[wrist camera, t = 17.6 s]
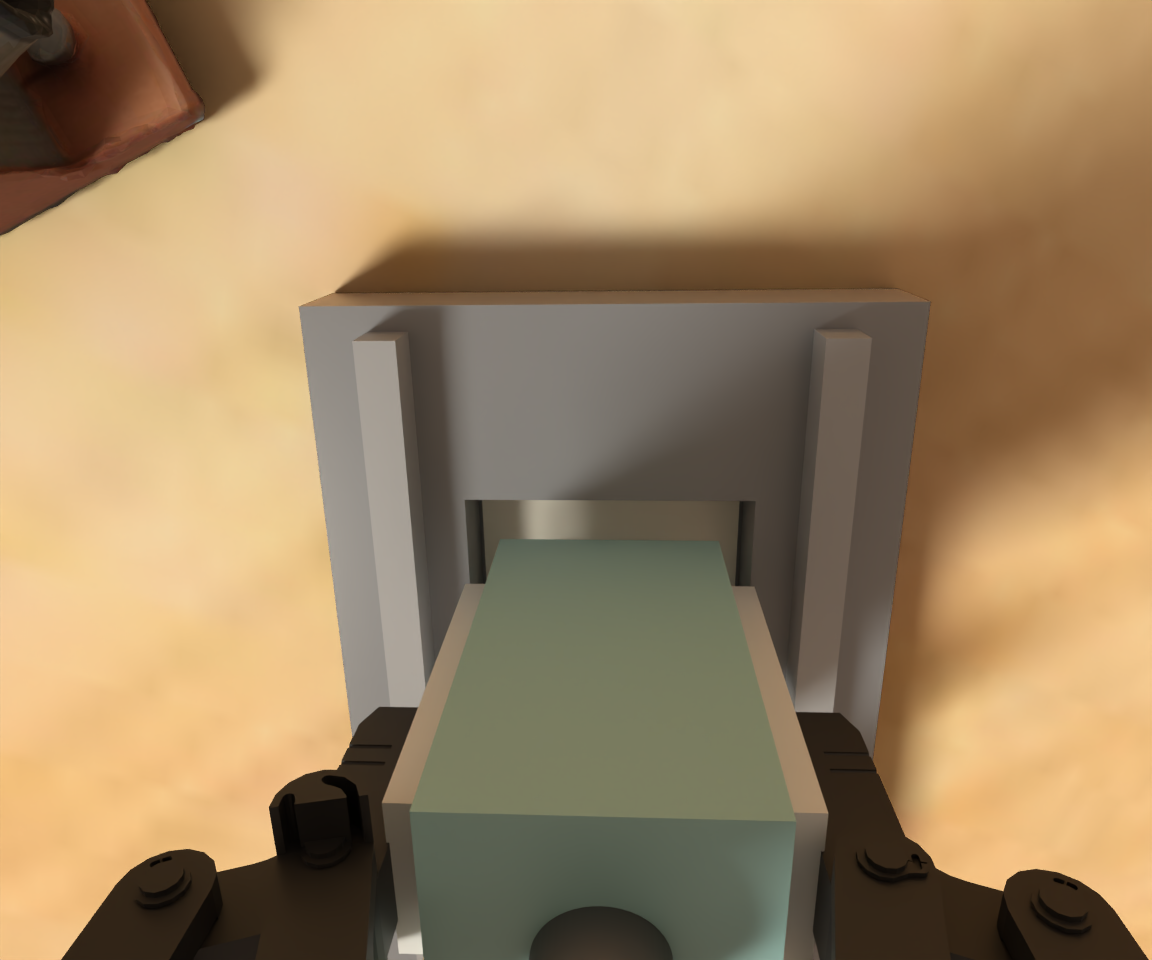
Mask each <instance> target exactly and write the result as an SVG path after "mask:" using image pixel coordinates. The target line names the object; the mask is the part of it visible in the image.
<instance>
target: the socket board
mask: <svg viewBox="0 0 1152 960" xmlns="http://www.w3.org/2000/svg"><path fill="white" fill-rule="evenodd" d="M930 303H931V302H930V301H928V300H925V299H923V298H920V297H918V296H915V295H913V294H910V293H907V292H905V291H902V290H900V289H780V290H662V291H544V292H426V293H332V294H329V295H327V296H324V297H322V298H319V299H317V300H314V301H311V302H309V303H306V304H304V305H301V306H299V311H300V319H301V327H302V335H303V343H304V351H305V359H306V367H307V375H308V383H309V391H310V399H311V407H312V416H313V424H314V432H315V440H316V448H317V456H318V464H319V472H320V480H321V488H322V496H323V504H324V512H325V520H326V528H327V536H328V544H329V552H330V560H331V568H332V576H333V585H334V593H335V601H336V609H337V617H338V625H339V633H340V641H341V649H342V657H343V665H344V673H345V681H346V689H347V697H348V705H349V713H350V721H351V729H352V737H353V736H354V734H355V732H356V730H357V728H358V725H359V724H360V723H361V722H362V721H363V720H364V719H366V718H367V717H368V716H369V715H370V714H371V713H372V712H373V711H375V710H376V709H377V708H378V707H419V704H420V701H421V699H422V696H423V694H424V691H425V688H426V686H427V683H428V680H429V678H430V675H431V673H432V670H433V667H434V665H435V662H436V659H437V657H438V654H439V652H440V649H441V646H442V644H443V641H444V638H445V636H446V633H447V631H448V628H449V625H450V623H451V620H452V618H453V615H454V612H455V610H456V607H457V604H458V602H459V599H460V597H461V594H462V591H463V589H464V586H465V584H485V583H486V580H487V577H488V574H489V571H490V568H491V565H492V562H493V559H494V556H495V553H496V550H497V547H498V544H499V541H500V539H563V540H675V541H719V544H720V547H721V551H722V554H723V558H724V562H725V565H726V569H727V572H728V576H729V580H730V583H731V586H749V587H755V590H756V593H757V596H758V599H759V602H760V605H761V608H762V611H763V614H764V618H765V621H766V624H767V627H768V630H769V633H770V636H771V639H772V642H773V645H774V648H775V651H776V654H777V657H778V660H779V663H780V667H781V670H782V673H783V676H784V679H785V682H786V685H787V688H788V691H789V694H790V697H791V700H792V703H793V706H794V709H795V712H830V713H841V714H842V715H843V716H844V717H845V718H846V719H847V720H848V721H849V722H850V723H851V724H852V725H854V726H855V727H856V728H857V729H858V730H859V731H860V733H861V735H862V737H863V740H864V742H865V744H866V747H867V749H868V751H869V757H871V758H872V761H873V754H874V746H875V738H876V730H877V722H878V714H879V707H880V699H881V691H882V683H883V675H884V667H885V659H886V651H887V643H888V635H889V627H890V619H891V612H892V604H893V596H894V588H895V580H896V572H897V564H898V556H899V548H900V540H901V532H902V524H903V517H904V509H905V501H906V493H907V485H908V477H909V469H910V461H911V453H912V445H913V437H914V429H915V422H916V414H917V406H918V398H919V390H920V382H921V374H922V366H923V358H924V350H925V342H926V334H927V326H928V319H929V311H930ZM388 960H423V954H399V950H398V941H397V932H396V929H395V933H394V936H393V939H392V943H391V946H390V949H389V953H388ZM813 960H820V958H819V954H818V950H817V946H816V942H815V943H814V952H813Z"/></svg>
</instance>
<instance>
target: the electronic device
mask: <svg viewBox="0 0 1152 960" xmlns="http://www.w3.org/2000/svg"><path fill="white" fill-rule="evenodd" d="M204 113H205V107H204V103H203V100H202V99H201V97H200V96H199V95H198V94H197V93H196V92H195V91H193V89H192V88H191V86H190V84H189V82H188V80H187V78H186V76H185V74H184V73H183V71H182V69H181V67H180V65H179V63H178V61H177V59H176V57H175V55H174V53H173V51H172V49H171V47H170V46H169V44H168V42H167V40H166V38H165V36H164V35H163V33H162V31H161V29H160V26H159V24H158V21H157V19H156V17H155V15H154V14H153V12H152V10H151V9H150V7H149V5H148V4H147V2H146V0H0V235H2V234H5V233H8V232H10V231H11V230H13V229H15V228H16V227H18V226H20V225H21V224H23V223H25V222H26V221H28V220H30V219H31V218H33V217H35V216H36V215H38V214H40V213H42V212H44V211H46V210H48V209H50V208H53V207H56V206H58V205H60V204H61V203H62V202H64V201H65V200H66V199H67V198H68V197H69V196H71V195H72V194H74V193H75V192H76V191H78V190H80V189H82V188H83V187H85V186H87V185H89V184H91V183H92V182H94V181H96V180H98V179H100V178H101V177H103V176H105V175H110V174H115V173H118V172H119V171H120V170H121V169H122V168H123V167H124V166H125V165H126V164H127V163H128V162H130V161H132V160H134V159H136V158H138V157H140V156H142V155H144V154H146V153H148V152H149V151H150V150H151V149H152V148H153V147H155V146H157V145H159V144H160V143H162V142H169V141H171V140H173V139H174V138H175V137H176V136H179V135H181V134H182V133H183V132H186V131H188V130H191V129H193V128H194V127H195V125H196V122H199V121H201V120H203V119H204Z"/></svg>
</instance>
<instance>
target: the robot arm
mask: <svg viewBox="0 0 1152 960" xmlns="http://www.w3.org/2000/svg"><path fill="white" fill-rule="evenodd" d="M484 586H485V584H465V586H464V589H463V591H462V594H461V597H460V599H459V602H458V604H457V607H456V610H455V612H454V615H453V618H452V620H451V623H450V625H449V628H448V631H447V633H446V636H445V638H444V641H443V644H442V646H441V649H440V652H439V654H438V657H437V659H436V662H435V665H434V667H433V670H432V673H431V675H430V678H429V680H428V683H427V686H426V688H425V691H424V694H423V696H422V699H421V701H420V704H419V707H378V708H377V709H376V710H375V711H373V712H372V713H371V714H370V715H369V716H368V717H367V718H366V719H364V720H363V721H362V722H361V723H360V724H359V725H358V728H357V730H356V732H355V734H354V736H353V738H352V740H351V742H350V744H349V745H350V746H349V748H347V751H346V753H345V755H344V757H343V759H342V764H341V765H339V767H338V769H337V770H321V771H317V772H313V773H309V774H305V775H303V776H301V777H299V778H297V779H295V780H293V781H291V782H289V783H288V784H287V785H286V786H285V787H283V788H282V789H281V790H280V791H279V792H278V793H277V794H276V795H275V797H274V799H273V801H272V803H271V804H270V806H269V811H270V817H271V823H272V829H273V835H274V841H275V846H276V852H277V856H275V857H272V858H270V859H268V860H265V861H262V862H259V863H255V864H252V865H247V866H243V867H238V868H234V869H229V870H225V871H221V872H216V867H215V863H214V860H213V859H211V858H210V857H209V856H208V855H207V854H205V853H204V852H200V851H195V850H191V849H184V850H175V851H168V852H165V853H162V854H160V855H157V856H154V857H151V858H149V859H147V860H146V861H144V862H142V863H141V864H139V865H137V866H136V867H134V868H133V869H131V870H130V871H129V872H128V873H127V874H126V875H125V876H124V877H123V878H122V879H121V880H120V881H119V882H118V883H117V884H116V885H115V887H114V888H113V890H112V891H111V892H110V894H109V895H108V896H107V898H106V899H105V901H104V902H103V903H102V905H101V906H100V907H99V909H98V910H97V911H96V913H95V914H94V916H93V917H92V918H91V920H90V921H89V922H88V924H87V925H86V927H85V928H84V929H83V931H82V932H81V933H80V935H79V936H78V937H77V939H76V940H75V942H74V943H73V944H72V946H71V947H70V948H69V950H68V951H67V952H66V954H65V955H64V957H63V958H62V959H61V960H388V953H389V949H390V946H391V943H392V939H393V936H394V933H395V929H396V932H397V941H398V950H399V954H423V948H422V937H421V927H420V916H419V906H418V896H417V885H416V875H415V865H414V854H413V844H412V834H411V823H410V813H409V811H410V808H411V805H412V802H413V799H414V796H415V793H416V790H417V787H418V784H419V781H420V778H421V775H422V772H423V769H424V766H425V763H426V760H427V757H428V754H429V751H430V748H431V745H432V742H433V739H434V736H435V733H436V730H437V727H438V724H439V721H440V718H441V715H442V712H443V709H444V706H445V703H446V700H447V697H448V694H449V691H450V688H451V685H452V682H453V679H454V676H455V673H456V670H457V667H458V664H459V661H460V658H461V655H462V652H463V649H464V646H465V643H466V640H467V637H468V634H469V631H470V628H471V625H472V622H473V619H474V616H475V613H476V610H477V607H478V604H479V601H480V598H481V595H482V592H483V589H484ZM731 587H732V591H733V594H734V598H735V601H736V605H737V609H738V612H739V616H740V619H741V623H742V627H743V630H744V634H745V638H746V641H747V645H748V648H749V652H750V656H751V659H752V663H753V666H754V670H755V674H756V677H757V681H758V685H759V688H760V692H761V695H762V699H763V703H764V706H765V710H766V713H767V717H768V721H769V724H770V728H771V732H772V735H773V739H774V742H775V746H776V750H777V753H778V757H779V760H780V764H781V768H782V771H783V775H784V779H785V782H786V786H787V789H788V793H789V797H790V800H791V804H792V807H793V811H794V815H795V818H796V831H795V842H794V852H793V863H792V873H791V884H790V894H789V905H788V915H787V926H786V936H785V947H784V958H783V960H813V952H814V943H815V942H816V946H817V950H818V954H819V958H820V960H1148V958H1147V957H1146V955H1145V954H1144V952H1143V951H1142V950H1141V948H1140V947H1139V945H1138V944H1137V942H1136V941H1135V939H1134V938H1133V937H1132V935H1131V934H1130V932H1129V931H1128V929H1127V928H1126V926H1125V925H1124V924H1123V922H1122V921H1121V919H1120V918H1119V916H1118V915H1117V913H1116V912H1115V910H1114V909H1113V908H1112V907H1111V906H1110V905H1109V904H1108V903H1107V902H1106V901H1105V900H1104V899H1103V898H1102V897H1101V896H1100V894H1098V893H1097V892H1095V891H1094V890H1092V889H1091V888H1089V887H1088V886H1086V885H1085V884H1083V883H1081V882H1080V881H1078V880H1075V879H1073V878H1070V877H1068V876H1065V875H1063V874H1060V873H1058V872H1052V871H1045V870H1039V869H1033V870H1026V871H1020V872H1017V873H1016V874H1015V875H1013V876H1012V877H1010V878H1009V879H1007V881H1006V885H1005V888H1004V891H1000V890H996V889H992V888H989V887H985V886H981V885H978V884H974V883H970V882H967V881H964V880H961V879H958V878H955V877H952V876H950V875H948V874H946V873H944V872H942V871H940V870H938V869H936V868H935V866H934V863H933V861H932V859H931V857H930V856H929V855H928V854H927V853H926V852H925V851H924V850H923V849H922V848H921V847H920V846H919V845H918V844H917V843H915V842H913V841H912V840H910V839H908V838H907V837H905V835H904V832H903V830H902V828H901V825H900V823H899V821H898V819H897V816H896V814H895V812H894V809H893V807H892V805H891V802H890V800H889V798H888V795H887V793H886V791H885V788H884V786H883V784H882V781H881V779H880V777H879V775H878V774H877V773H876V768H875V765H874V763H873V761H872V758H871V757H869V751H868V749H867V747H866V744H865V742H864V740H863V737H862V735H861V733H860V731H859V730H858V729H857V728H856V727H855V726H854V725H852V724H851V723H850V722H849V721H848V720H847V719H846V718H845V717H844V716H843V715H842V714H841V713H830V712H795V709H794V706H793V703H792V700H791V697H790V694H789V691H788V688H787V685H786V682H785V679H784V676H783V673H782V670H781V667H780V663H779V660H778V657H777V654H776V651H775V648H774V645H773V642H772V639H771V636H770V633H769V630H768V627H767V624H766V621H765V618H764V614H763V611H762V608H761V605H760V602H759V599H758V596H757V593H756V590H755V587H749V586H731Z"/></svg>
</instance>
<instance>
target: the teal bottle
mask: <svg viewBox="0 0 1152 960" xmlns="http://www.w3.org/2000/svg"><path fill="white" fill-rule="evenodd" d="M409 813H410V823H411V834H412V844H413V854H414V865H415V875H416V885H417V896H418V906H419V916H420V927H421V937H422V948H423V958H424V960H783V958H784V947H785V936H786V926H787V915H788V905H789V894H790V884H791V873H792V863H793V852H794V842H795V831H796V818H795V815H794V811H793V807H792V804H791V800H790V797H789V793H788V789H787V786H786V782H785V779H784V775H783V771H782V768H781V764H780V760H779V757H778V753H777V750H776V746H775V742H774V739H773V735H772V732H771V728H770V724H769V721H768V717H767V713H766V710H765V706H764V703H763V699H762V695H761V692H760V688H759V685H758V681H757V677H756V674H755V670H754V666H753V663H752V659H751V656H750V652H749V648H748V645H747V641H746V638H745V634H744V630H743V627H742V623H741V619H740V616H739V612H738V609H737V605H736V601H735V598H734V594H733V591H732V587H731V583H730V580H729V576H728V572H727V569H726V565H725V562H724V558H723V554H722V551H721V547H720V544H719V541H675V540H563V539H500V541H499V544H498V547H497V550H496V553H495V556H494V559H493V562H492V565H491V568H490V571H489V574H488V577H487V580H486V583H485V586H484V589H483V592H482V595H481V598H480V601H479V604H478V607H477V610H476V613H475V616H474V619H473V622H472V625H471V628H470V631H469V634H468V637H467V640H466V643H465V646H464V649H463V652H462V655H461V658H460V661H459V664H458V667H457V670H456V673H455V676H454V679H453V682H452V685H451V688H450V691H449V694H448V697H447V700H446V703H445V706H444V709H443V712H442V715H441V718H440V721H439V724H438V727H437V730H436V733H435V736H434V739H433V742H432V745H431V748H430V751H429V754H428V757H427V760H426V763H425V766H424V769H423V772H422V775H421V778H420V781H419V784H418V787H417V790H416V793H415V796H414V799H413V802H412V805H411V808H410V811H409Z"/></svg>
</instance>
